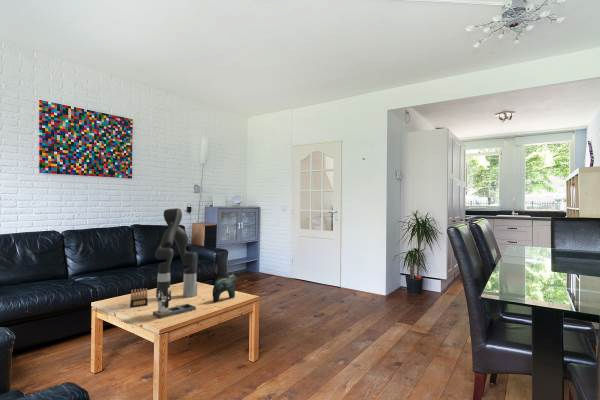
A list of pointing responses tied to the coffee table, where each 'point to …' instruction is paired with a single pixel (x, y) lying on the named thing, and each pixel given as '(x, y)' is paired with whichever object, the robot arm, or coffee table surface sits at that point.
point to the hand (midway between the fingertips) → (163, 306)
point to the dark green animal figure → (224, 287)
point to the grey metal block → (162, 307)
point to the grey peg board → (175, 310)
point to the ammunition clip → (139, 298)
